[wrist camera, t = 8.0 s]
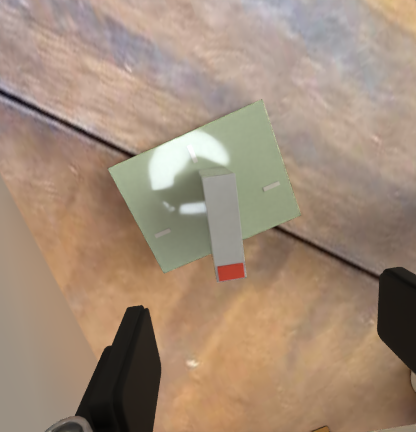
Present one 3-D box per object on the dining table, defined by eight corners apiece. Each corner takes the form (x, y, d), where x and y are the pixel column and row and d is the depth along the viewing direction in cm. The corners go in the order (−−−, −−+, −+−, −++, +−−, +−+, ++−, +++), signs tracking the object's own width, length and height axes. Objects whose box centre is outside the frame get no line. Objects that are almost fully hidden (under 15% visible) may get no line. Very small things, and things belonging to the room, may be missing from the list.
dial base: (253, 104, 22) (263, 98, 19) (294, 226, 26) (309, 237, 23) (117, 165, 23) (106, 168, 20) (175, 276, 26) (174, 293, 23)
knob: (198, 169, 20) (201, 178, 15) (223, 165, 20) (236, 173, 15) (210, 250, 22) (217, 284, 17) (233, 246, 22) (247, 280, 17)
